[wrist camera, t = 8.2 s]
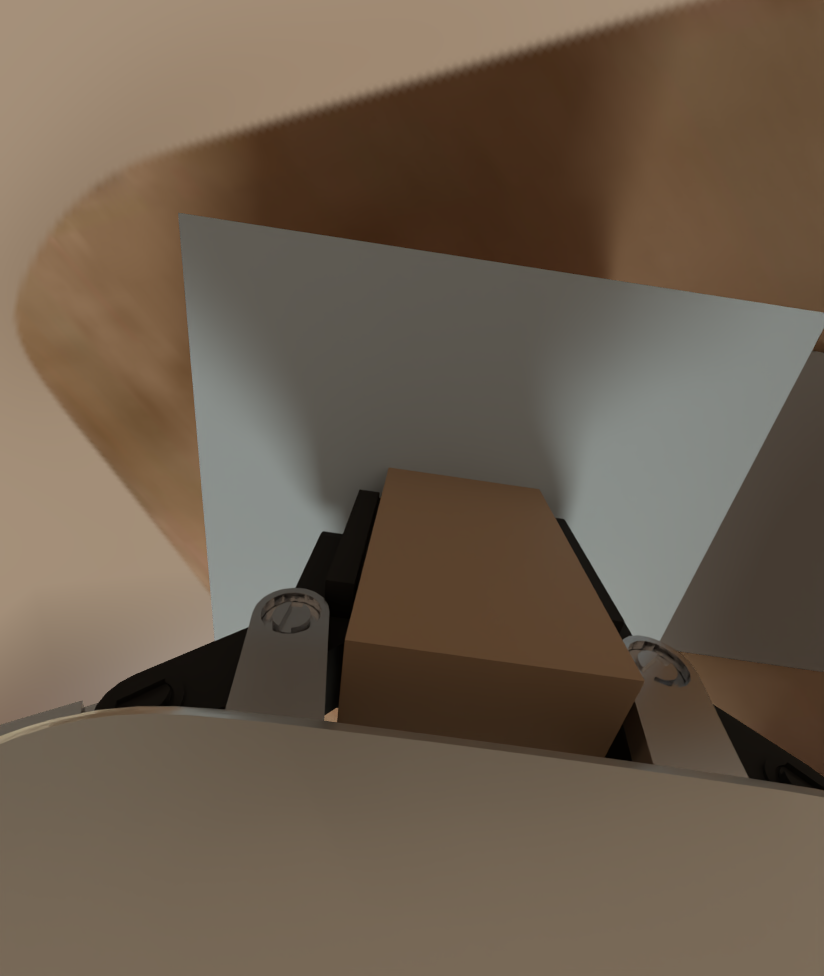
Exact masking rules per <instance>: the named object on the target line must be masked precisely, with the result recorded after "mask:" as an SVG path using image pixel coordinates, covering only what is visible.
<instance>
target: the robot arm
mask: <svg viewBox="0 0 824 976" xmlns="http://www.w3.org/2000/svg"><path fill="white" fill-rule="evenodd" d="M379 494H380V493H379V492H374V491H367V490H359V492H358V495H357V497H356V500H355V503H354V505H353V508H352V511H351V513H350V516H349V519H348V521H347V524H346V527H345V529H344V532H343V534H339V533H332V532H325V531H323V532H322V533H321V534H320V536H319V538H318V540H317V543H316V545H315V547H314V549H313V551H312V553H311V555H310V557H309V560H308V562H307V564H306V566H305V568H304V570H303V572H302V575H301V577H300V579H299V581H298V583H297V585H296V587H295V588H286V589H281V590H278V591H274V592H272V593H270V594H268V595H267V596H265V597H263V598H262V599H261V600H260V601H259V602H258V603H257V604H256V606H255V608H254V610H253V612H252V616H251V619H250V623H249V627H247V628H245V629H242V630H240V631H238V632H235V633H233V634H230V635H228V636H226V637H223V638H221V639H219V640H216V641H214V642H211V643H209V644H207V645H205V646H202V647H200V648H197V649H195V650H193V651H190V652H188V653H185V654H183V655H181V656H178V657H176V658H173V659H171V660H168V661H166V662H164V663H161V664H159V665H157V666H154V667H152V668H149V669H147V670H145V671H142V672H140V673H137V674H135V675H133V676H131V677H129V678H127V679H126V680H124V681H122V682H120V683H119V684H117V685H116V686H115V687H114V688H112V689H111V690H110V691H108V692H107V693H106V694H105V695H104V697H103V698H102V699H101V700H100V702H99V703H97V704H93V705H90V706H87V707H84V705H83V701H79V702H75V703H72V704H69V705H66V706H62V707H59V708H55V709H52V710H49V711H45V712H42V713H38V714H35V715H31V716H28V717H25V718H21V719H18V720H15V721H11V722H8V723H5V724H1V725H0V976H824V777H823V776H821V775H820V774H819V773H817V772H816V771H815V770H813V769H812V768H810V767H809V766H808V765H806V764H805V763H803V762H802V761H800V760H798V759H797V758H795V757H794V756H792V755H791V754H789V753H788V752H786V751H785V750H783V749H781V748H780V747H778V746H777V745H775V744H774V743H772V742H771V741H769V740H768V739H766V738H764V737H763V736H761V735H760V734H758V733H757V732H755V731H754V730H752V729H750V728H749V727H747V726H746V725H744V724H743V723H741V722H740V721H738V720H737V719H735V718H733V717H732V716H730V715H729V714H727V713H726V712H724V711H723V710H721V709H720V708H718V707H716V706H715V705H713V704H712V702H711V700H710V698H709V696H708V694H707V692H706V690H705V687H704V685H703V683H702V681H701V679H700V677H699V675H698V673H697V672H696V670H695V669H694V667H693V666H692V664H691V663H690V662H689V661H688V660H687V659H686V658H685V657H684V656H683V655H682V654H680V653H679V652H678V651H676V650H675V649H673V648H672V647H670V646H668V645H667V644H665V643H663V642H661V641H659V640H656V639H653V638H650V637H646V636H640V635H635V636H633V635H632V634H631V632H630V630H629V629H628V627H627V625H626V624H625V621H624V619H623V618H622V616H621V614H620V612H619V611H618V609H617V607H616V606H615V604H614V602H613V601H612V599H611V597H610V595H609V594H608V592H607V590H606V589H605V587H604V585H603V584H602V582H601V580H600V578H599V577H598V575H597V573H596V572H595V570H594V568H593V567H592V565H591V563H590V561H589V560H588V558H587V556H586V555H585V553H584V551H583V550H582V548H581V546H580V544H579V543H578V541H577V539H576V538H575V536H574V534H573V533H572V531H571V529H570V527H569V526H568V524H567V522H566V521H565V520H564V519H561V518H556V520H557V522H558V524H559V526H560V528H561V529H562V531H563V533H564V535H565V537H566V538H567V540H568V542H569V544H570V546H571V548H572V549H573V551H574V553H575V555H576V557H577V558H578V560H579V562H580V564H581V566H582V568H583V569H584V571H585V573H586V575H587V577H588V578H589V580H590V582H591V584H592V586H593V588H594V589H595V591H596V593H597V595H598V597H599V598H600V600H601V602H602V604H603V606H604V608H605V609H606V611H607V613H608V615H609V617H610V618H611V620H612V622H613V624H614V626H615V627H616V629H617V631H618V633H619V635H620V637H621V638H622V640H623V642H624V644H625V646H626V647H627V649H628V651H629V653H630V655H631V657H632V658H633V660H634V662H635V664H636V666H637V667H638V669H639V671H640V673H641V675H642V677H643V678H644V680H645V682H644V684H643V686H642V688H641V690H640V692H639V694H638V695H637V697H636V699H635V701H634V703H633V705H632V707H631V709H630V710H629V712H628V714H627V716H626V718H625V720H624V722H623V724H622V725H621V727H620V729H619V731H618V733H617V735H616V737H615V739H614V740H613V742H612V744H611V746H610V748H609V750H608V752H607V754H606V755H605V757H604V758H603V757H595V756H588V755H581V754H573V753H566V752H558V751H551V750H544V749H536V748H529V747H521V746H514V745H506V744H499V743H491V742H484V741H476V740H469V739H461V738H454V737H446V736H439V735H431V734H423V733H415V732H407V731H400V730H392V729H384V728H376V727H368V726H360V725H353V724H345V723H337V722H329V721H324V715H326V714H327V713H329V712H330V711H332V710H334V709H335V708H339V697H340V687H341V676H342V665H343V654H344V643H345V637H346V633H347V629H348V625H349V622H350V618H351V614H352V610H353V606H354V602H355V598H356V594H357V590H358V586H359V582H360V578H361V574H362V570H363V566H364V563H365V559H366V555H367V551H368V547H369V543H370V539H371V535H372V531H373V527H374V523H375V519H376V515H377V511H378V507H379V504H380V500H381V498H379Z"/></svg>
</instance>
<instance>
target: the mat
mask: <svg viewBox="0 0 824 976" xmlns="http://www.w3.org/2000/svg"><path fill="white" fill-rule="evenodd" d="M660 641H661V642H663V643H665V644H667V645H668V646H670V647H672V648H673V649H675V650H676V651H680V652H687V653H694V654H701V655H708V656H715V657H722V658H729V659H736V660H743V661H750V662H757V663H764V664H771V665H778V666H785V667H792V668H799V669H806V670H813V671H820V672H823V671H824V353H823V352H816V351H811V353H810V355H809V357H808V359H807V361H806V363H805V365H804V367H803V369H802V370H801V372H800V374H799V376H798V378H797V380H796V382H795V384H794V386H793V388H792V390H791V391H790V393H789V395H788V397H787V399H786V401H785V403H784V405H783V407H782V409H781V411H780V412H779V414H778V416H777V418H776V420H775V422H774V424H773V426H772V428H771V430H770V432H769V433H768V435H767V437H766V439H765V441H764V443H763V445H762V447H761V449H760V451H759V452H758V454H757V456H756V458H755V460H754V462H753V464H752V466H751V468H750V470H749V472H748V473H747V475H746V477H745V479H744V481H743V483H742V485H741V487H740V489H739V491H738V493H737V494H736V496H735V498H734V500H733V502H732V504H731V506H730V508H729V510H728V512H727V514H726V515H725V517H724V519H723V521H722V523H721V525H720V527H719V529H718V531H717V533H716V534H715V536H714V538H713V540H712V542H711V544H710V546H709V548H708V550H707V552H706V554H705V555H704V557H703V559H702V561H701V563H700V565H699V567H698V569H697V571H696V573H695V575H694V576H693V578H692V580H691V582H690V584H689V586H688V588H687V590H686V592H685V594H684V596H683V597H682V599H681V601H680V603H679V605H678V607H677V609H676V611H675V613H674V615H673V616H672V618H671V620H670V622H669V624H668V626H667V628H666V630H665V632H664V634H663V636H662V637H661V639H660Z"/></svg>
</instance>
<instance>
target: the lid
mask: <svg viewBox="0 0 824 976" xmlns="http://www.w3.org/2000/svg"><path fill="white" fill-rule="evenodd" d="M178 216H179V228H180V240H181V251H182V263H183V275H184V287H185V298H186V310H187V322H188V333H189V345H190V357H191V368H192V380H193V392H194V404H195V415H196V427H197V439H198V450H199V462H200V474H201V485H202V497H203V509H204V521H205V532H206V544H207V556H208V567H209V579H210V591H211V602H212V613H213V626H214V638H215V641H216V640H219V639H221V638H223V637H226V636H228V635H230V634H233V633H235V632H238V631H240V630H242V629H245V628H247V627H249V623H250V619H251V616H252V612H253V610H254V608H255V606H256V604H257V603H258V602H259V601H260V600H261V599H262V598H263V597H265V596H267V595H268V594H270V593H272V592H274V591H278V590H281V589H286V588H295V587H296V585H297V583H298V581H299V579H300V577H301V575H302V572H303V570H304V568H305V566H306V564H307V562H308V560H309V557H310V555H311V553H312V551H313V549H314V547H315V545H316V543H317V540H318V538H319V536H320V534H321V533H322V532H323V531H325V532H332V533H339V534H343V532H344V529H345V527H346V524H347V521H348V519H349V516H350V513H351V511H352V508H353V505H354V503H355V500H356V497H357V495H358V492H359V490H367V491H374V492H379V493H380V494H379V498H381V500H380V504H379V507H378V511H377V515H376V519H375V523H374V527H373V531H372V535H371V539H370V543H369V547H368V551H367V555H366V559H365V563H364V566H363V570H362V574H361V578H360V582H359V586H358V590H357V594H356V598H355V602H354V606H353V610H352V614H351V618H350V622H349V625H348V629H347V633H346V637H345V643H344V654H343V665H342V676H341V687H340V697H339V708H338V719H337V723H345V724H353V725H360V726H368V727H376V728H384V729H392V730H400V731H407V732H415V733H423V734H431V735H439V736H446V737H454V738H461V739H469V740H476V741H484V742H491V743H499V744H506V745H514V746H521V747H529V748H536V749H544V750H551V751H558V752H566V753H573V754H581V755H588V756H595V757H603V758H604V757H605V755H606V754H607V752H608V750H609V748H610V746H611V744H612V742H613V740H614V739H615V737H616V735H617V733H618V731H619V729H620V727H621V725H622V724H623V722H624V720H625V718H626V716H627V714H628V712H629V710H630V709H631V707H632V705H633V703H634V701H635V699H636V697H637V695H638V694H639V692H640V690H641V688H642V686H643V684H644V682H645V680H644V678H643V677H642V675H641V673H640V671H639V669H638V667H637V666H636V664H635V662H634V660H633V658H632V657H631V655H630V653H629V651H628V649H627V647H626V646H625V644H624V642H623V640H622V638H621V637H620V635H619V633H618V631H617V629H616V627H615V626H614V624H613V622H612V620H611V618H610V617H609V615H608V613H607V611H606V609H605V608H604V606H603V604H602V602H601V600H600V598H599V597H598V595H597V593H596V591H595V589H594V588H593V586H592V584H591V582H590V580H589V578H588V577H587V575H586V573H585V571H584V569H583V568H582V566H581V564H580V562H579V560H578V558H577V557H576V555H575V553H574V551H573V549H572V548H571V546H570V544H569V542H568V540H567V538H566V537H565V535H564V533H563V531H562V529H561V528H560V526H559V524H558V522H557V520H556V518H561V519H564V520H565V521H566V522H567V524H568V526H569V527H570V529H571V531H572V533H573V534H574V536H575V538H576V539H577V541H578V543H579V544H580V546H581V548H582V550H583V551H584V553H585V555H586V556H587V558H588V560H589V561H590V563H591V565H592V567H593V568H594V570H595V572H596V573H597V575H598V577H599V578H600V580H601V582H602V584H603V585H604V587H605V589H606V590H607V592H608V594H609V595H610V597H611V599H612V601H613V602H614V604H615V606H616V607H617V609H618V611H619V612H620V614H621V616H622V618H623V619H624V621H625V624H626V625H627V627H628V629H629V630H630V632H631V634H632V635H633V636H635V635H640V636H646V637H650V638H653V639H656V640H659V641H660V639H661V637H662V636H663V634H664V632H665V630H666V628H667V626H668V624H669V622H670V620H671V618H672V616H673V615H674V613H675V611H676V609H677V607H678V605H679V603H680V601H681V599H682V597H683V596H684V594H685V592H686V590H687V588H688V586H689V584H690V582H691V580H692V578H693V576H694V575H695V573H696V571H697V569H698V567H699V565H700V563H701V561H702V559H703V557H704V555H705V554H706V552H707V550H708V548H709V546H710V544H711V542H712V540H713V538H714V536H715V534H716V533H717V531H718V529H719V527H720V525H721V523H722V521H723V519H724V517H725V515H726V514H727V512H728V510H729V508H730V506H731V504H732V502H733V500H734V498H735V496H736V494H737V493H738V491H739V489H740V487H741V485H742V483H743V481H744V479H745V477H746V475H747V473H748V472H749V470H750V468H751V466H752V464H753V462H754V460H755V458H756V456H757V454H758V452H759V451H760V449H761V447H762V445H763V443H764V441H765V439H766V437H767V435H768V433H769V432H770V430H771V428H772V426H773V424H774V422H775V420H776V418H777V416H778V414H779V412H780V411H781V409H782V407H783V405H784V403H785V401H786V399H787V397H788V395H789V393H790V391H791V390H792V388H793V386H794V384H795V382H796V380H797V378H798V376H799V374H800V372H801V370H802V369H803V367H804V365H805V363H806V361H807V359H808V357H809V355H810V353H811V351H812V350H813V348H814V346H815V344H816V342H817V340H818V338H819V336H820V334H821V332H822V330H823V329H824V313H823V312H816V311H810V310H803V309H797V308H791V307H784V306H778V305H771V304H765V303H758V302H752V301H745V300H739V299H732V298H726V297H719V296H713V295H706V294H700V293H694V292H687V291H681V290H674V289H668V288H661V287H655V286H648V285H642V284H635V283H629V282H622V281H616V280H610V279H603V278H597V277H590V276H584V275H577V274H571V273H564V272H558V271H551V270H545V269H538V268H532V267H525V266H519V265H513V264H506V263H500V262H493V261H487V260H480V259H474V258H467V257H461V256H454V255H448V254H441V253H435V252H428V251H422V250H416V249H409V248H403V247H396V246H390V245H383V244H377V243H370V242H364V241H357V240H351V239H344V238H338V237H331V236H325V235H319V234H312V233H306V232H299V231H293V230H286V229H280V228H273V227H267V226H260V225H254V224H247V223H241V222H234V221H228V220H222V219H215V218H209V217H202V216H196V215H189V214H183V213H178Z"/></svg>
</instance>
